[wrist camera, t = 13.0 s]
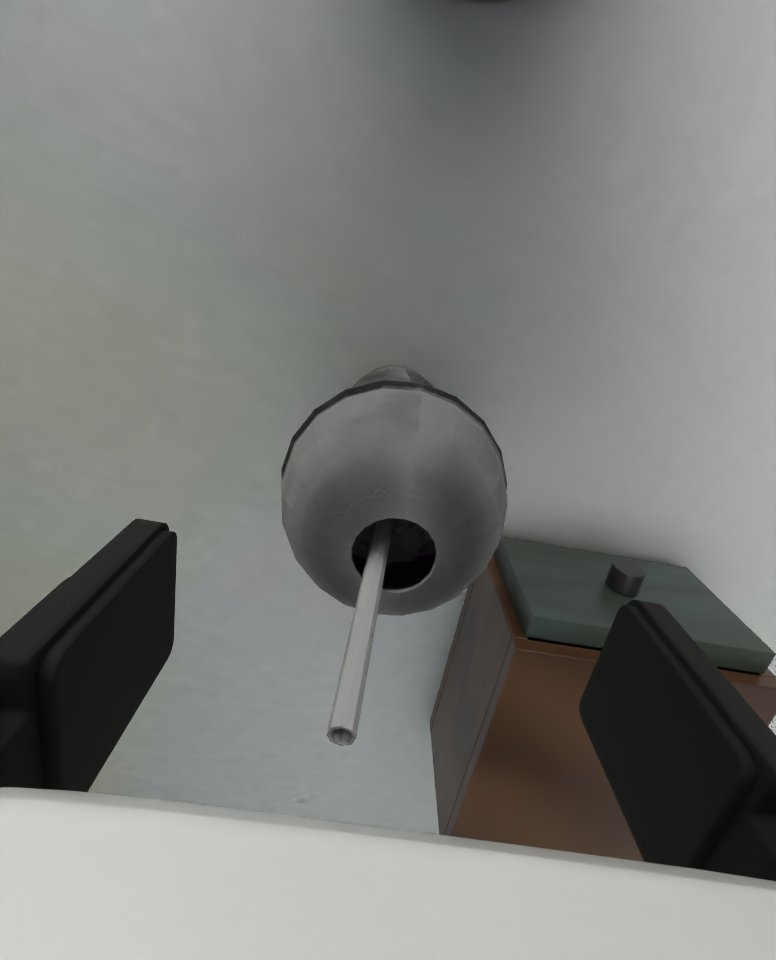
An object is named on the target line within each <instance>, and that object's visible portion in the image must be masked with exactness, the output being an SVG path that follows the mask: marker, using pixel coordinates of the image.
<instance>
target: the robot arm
mask: <svg viewBox="0 0 776 960" xmlns="http://www.w3.org/2000/svg"><path fill="white" fill-rule="evenodd" d="M176 553H177V535H176V533H175V532H172V531H169V528H168V525H167V524H166V523H161V522H155V521H149V520H143V519H135V520H134V521H132V522H131V523H130V524H129V525H128V526H127V527H126V528H124V529H123V530H122V531H121V532H120V533H119V534H118V535H117V536H116V537H114V538H113V539H112V540H111V541H110V542H109V543H108V544H107V545H106V546H104V547H103V548H102V549H101V550H100V551H99V552H98V553H97V554H96V555H94V556H93V557H92V558H91V559H90V560H89V561H88V562H87V563H86V564H84V565H83V566H82V567H81V568H80V569H79V570H78V571H77V572H76V573H74V574H73V575H72V576H71V577H69V578H67V579H66V580H64V581H63V582H62V583H61V584H59V585H58V586H57V587H56V588H55V589H54V590H53V591H52V592H50V593H49V594H48V595H47V596H46V597H45V598H44V599H43V600H42V601H40V602H39V603H38V604H37V605H36V606H35V607H34V608H33V609H31V610H30V611H29V612H28V613H27V614H26V615H25V616H24V617H22V618H21V619H20V620H19V621H18V622H17V623H16V624H15V625H13V626H12V627H11V628H10V629H9V630H8V631H7V632H6V633H5V634H3V635H2V636H1V637H0V960H776V735H775V734H774V733H773V732H772V731H771V729H770V728H769V727H768V726H767V725H766V724H765V722H764V721H763V720H762V719H761V718H760V717H759V715H758V714H757V713H756V712H755V711H754V710H753V709H752V707H751V706H750V705H749V704H748V703H747V702H746V700H745V699H744V698H743V697H742V696H741V695H740V693H739V692H738V691H737V690H736V689H735V688H734V686H733V685H732V684H731V683H730V682H729V681H728V680H727V678H726V677H725V676H724V675H723V674H722V673H721V671H720V670H719V669H718V668H717V667H716V666H715V664H714V663H713V662H712V661H711V660H710V659H709V657H708V656H707V655H706V654H705V653H704V652H703V650H702V649H701V648H700V647H699V646H698V645H697V644H696V642H695V641H694V640H693V639H692V638H691V637H690V635H689V634H688V633H687V632H686V631H685V630H684V628H683V627H682V626H681V625H680V624H679V623H678V621H677V620H676V619H675V618H674V617H673V616H672V615H671V613H670V612H669V611H668V610H667V609H666V608H665V607H664V606H663V605H662V604H658V603H652V602H646V601H640V600H631V601H630V602H629V603H627V605H623V606H621V607H620V608H619V610H618V612H617V614H616V616H615V619H614V621H613V624H612V626H611V628H610V631H609V633H608V636H607V638H606V640H605V643H604V645H603V647H602V650H601V652H600V655H599V657H598V659H597V662H596V664H595V666H594V669H593V671H592V674H591V676H590V678H589V681H588V683H587V686H586V688H585V690H584V693H583V695H582V697H581V700H580V705H579V712H580V717H581V720H582V722H583V725H584V727H585V729H586V731H587V734H588V736H589V738H590V740H591V743H592V745H593V747H594V750H595V752H596V754H597V756H598V759H599V761H600V763H601V765H602V768H603V770H604V772H605V774H606V777H607V779H608V781H609V783H610V786H611V788H612V790H613V793H614V795H615V797H616V799H617V802H618V804H619V806H620V808H621V811H622V813H623V815H624V817H625V820H626V822H627V824H628V826H629V829H630V831H631V833H632V836H633V838H634V840H635V842H636V845H637V847H638V849H639V851H640V854H641V856H642V858H643V860H644V862H641V861H634V860H626V859H619V858H612V857H604V856H597V855H590V854H582V853H575V852H568V851H560V850H553V849H546V848H538V847H531V846H523V845H515V844H508V843H500V842H492V841H485V840H477V839H470V838H462V837H454V836H447V835H439V834H431V833H423V832H416V831H408V830H400V829H392V828H385V827H377V826H369V825H361V824H354V823H346V822H337V821H329V820H321V819H313V818H305V817H297V816H289V815H281V814H273V813H265V812H257V811H249V810H240V809H232V808H224V807H216V806H208V805H200V804H192V803H184V802H174V801H165V800H155V799H146V798H136V797H127V796H117V795H108V794H99V793H89V792H88V790H89V788H90V787H91V785H92V783H93V782H94V780H95V778H96V777H97V775H98V773H99V772H100V770H101V768H102V767H103V765H104V764H105V762H106V760H107V759H108V757H109V755H110V754H111V752H112V750H113V749H114V747H115V745H116V744H117V742H118V740H119V739H120V737H121V735H122V734H123V732H124V730H125V729H126V727H127V725H128V724H129V722H130V720H131V719H132V717H133V715H134V714H135V712H136V711H137V709H138V707H139V706H140V704H141V702H142V701H143V699H144V697H145V696H146V694H147V692H148V691H149V689H150V687H151V686H152V684H153V682H154V681H155V679H156V677H157V676H158V674H159V672H160V671H161V669H162V667H163V666H164V664H165V662H166V661H167V659H168V657H169V655H170V653H171V650H172V646H173V641H174V615H175V584H176Z"/></svg>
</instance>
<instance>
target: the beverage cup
mask: <svg viewBox="0 0 776 960" xmlns="http://www.w3.org/2000/svg"><path fill="white" fill-rule="evenodd" d="M506 489H507V481H506V475H505V470H504V464H503V458H502V453H501V450H500V448H499V446H498V444H497V443H496V441H495V439H494V437H493V436H492V434H491V432H490V431H489V429H488V427H487V425H486V424H485V422H484V420H482V419H481V418H480V417H479V416H478V415H477V414H476V413H474V412H473V411H472V410H471V409H470V408H469V407H467V406H466V405H465V404H464V403H463V402H462V401H460V400H459V399H458V398H457V397H455V396H453V395H450V394H448V393H445V392H443V391H440V390H438V389H435V388H434V387H433V386H432V385H431V384H430V383H429V382H428V381H426V380H425V379H424V378H423V377H422V376H421V375H419V374H418V373H416V372H414V371H412V370H409V369H407V368H404V367H397V366H387V367H383V368H379V369H376V370H374V371H372V372H371V373H369V374H368V375H366V376H364V377H363V378H361V379H360V380H359V381H358V382H357V383H356V384H355V385H354V386H353V387H352V388H350V389H346V390H344V391H343V392H341V393H339V394H338V395H336V396H335V397H333V398H332V399H330V400H329V401H327V402H325V403H324V404H322V405H321V406H319V407H318V408H316V409H314V411H313V412H312V413H311V415H310V416H309V417H308V418H307V420H306V421H305V422H304V423H303V425H302V426H301V427H300V428H299V430H298V431H297V432H296V433H295V435H294V436H293V437H292V440H291V443H290V446H289V449H288V452H287V455H286V458H285V461H284V464H283V467H282V523H283V526H284V529H285V531H286V534H287V537H288V540H289V542H290V545H291V548H292V550H293V553H294V555H295V558H296V560H297V561H298V562H299V564H300V565H301V566H302V567H303V569H304V570H305V571H306V572H307V574H308V575H309V576H310V577H311V579H312V580H313V581H314V582H315V584H316V585H317V586H318V587H319V588H321V589H322V590H324V591H325V592H327V593H328V594H330V595H331V596H332V597H334V598H335V599H337V600H338V601H340V602H341V603H343V604H344V605H347V606H350V607H353V608H355V612H354V616H353V620H352V625H351V629H350V633H349V638H348V642H347V647H346V651H345V655H344V660H343V664H342V668H341V673H340V677H339V682H338V686H337V690H336V695H335V699H334V703H333V708H332V712H331V717H330V721H329V725H328V730H327V736H328V738H329V740H330V741H331V742H333V743H335V744H338V745H340V746H344V745H351V744H352V743H353V742H354V740H355V739H356V736H357V730H358V724H359V718H360V712H361V707H362V701H363V695H364V689H365V683H366V678H367V672H368V666H369V660H370V654H371V648H372V643H373V637H374V631H375V625H376V619H377V614H384V615H401V616H402V615H407V614H412V613H417V612H422V611H427V610H431V609H433V608H435V607H437V606H439V605H441V604H443V603H445V602H447V601H449V600H451V599H453V598H455V597H457V596H458V595H459V594H460V593H462V592H463V591H464V590H465V589H466V588H467V587H468V586H469V585H470V584H471V583H472V582H473V581H474V580H475V579H476V578H477V577H478V576H479V575H480V574H481V573H482V572H483V571H484V570H485V568H486V566H487V564H488V563H489V561H490V559H491V557H492V555H493V554H494V552H495V550H496V548H497V546H498V544H499V542H500V540H501V537H502V532H503V526H504V520H505V514H506V508H507V493H506Z"/></svg>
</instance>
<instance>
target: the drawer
mask: <svg viewBox="0 0 776 960" xmlns="http://www.w3.org/2000/svg"><path fill="white" fill-rule="evenodd" d="M494 556H495V558H496V561H497V564H498V566H499V569H500V572H501V574H502V577H503V580H504V582H505V585H506V588H507V590H508V593H509V596H510V598H511V601H512V604H513V606H514V609H515V612H516V614H517V617H518V620H519V622H520V625H521V628H522V630H523V633H524V636H525V637H528V640H534V641H540V642H546V643H553V644H559V645H566V646H572V647H578V648H585V649H591V650H598V651H601V650H602V647H603V645H604V643H605V640H606V638H607V636H608V633H609V631H610V628H611V626H612V624H613V621H614V619H615V616H616V614H617V612H618V610H619V608H620V607H621V606H623V605H627V603H629V602H630V601H631V600H640V601H646V602H652V603H658V604H662V605H663V606H664V607H665V608H666V609H667V610H668V611H669V612H670V613H671V615H672V616H673V617H674V618H675V619H676V620H677V621H678V623H679V624H680V625H681V626H682V627H683V628H684V630H685V631H686V632H687V633H688V634H689V635H690V637H691V638H692V639H693V640H694V641H695V642H696V644H697V645H698V646H699V647H700V648H701V649H702V650H703V652H704V653H705V654H706V655H707V656H708V657H709V659H710V660H711V661H712V662H713V663H714V664H715V666H717V667H723V668H729V669H736V670H742V671H749V672H755V673H761V674H764V673H765V671H766V670H767V668H768V666H769V664H770V663H771V661H772V659H773V658H774V656H775V653H774V652H773V651H772V650H771V649H770V648H769V647H768V646H767V645H766V644H765V643H764V642H763V641H762V640H761V639H760V638H759V637H758V636H757V635H756V634H755V633H754V632H753V631H752V630H751V629H750V628H748V627H747V626H746V625H745V624H744V623H743V622H742V621H741V620H740V619H739V618H738V617H737V616H736V615H735V614H734V613H733V612H732V611H731V610H730V609H729V608H728V607H727V606H726V605H725V604H724V603H723V602H722V601H721V600H720V599H719V598H717V597H716V596H715V595H714V594H713V593H712V592H711V591H710V590H709V589H708V588H707V587H706V586H705V585H704V584H703V583H702V582H701V581H700V580H699V579H698V578H697V577H696V576H695V575H694V574H693V573H692V572H691V571H690V570H689V569H688V568H686V567H680V566H674V565H668V564H662V563H656V562H650V561H644V560H638V559H632V558H626V557H620V556H614V555H608V554H603V553H597V552H591V551H585V550H579V549H573V548H567V547H561V546H555V545H549V544H543V543H537V542H531V541H525V540H519V539H513V538H507V537H501V540H500V542H499V544H498V546H497V548H496V550H495V552H494Z"/></svg>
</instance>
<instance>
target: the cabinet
mask: <svg viewBox="0 0 776 960" xmlns="http://www.w3.org/2000/svg"><path fill="white" fill-rule="evenodd" d="M600 652H601V651H598V650H591V649H585V648H578V647H572V646H566V645H559V644H553V643H546V642H540V641H534V640H528V637H525V636H524V633H523V630H522V628H521V625H520V622H519V620H518V617H517V614H516V612H515V609H514V606H513V604H512V601H511V598H510V596H509V593H508V590H507V588H506V585H505V582H504V580H503V577H502V574H501V572H500V569H499V566H498V564H497V561H496V558H495V556H494V554H493V555H492V557H491V559H490V561H489V563H488V564H487V566H486V568H485V570H484V571H483V572H482V573H481V574H480V575H479V576H478V577H477V578H476V579H475V580H474V581H473V582H472V583H471V584H470V585H469V588H468V592H467V595H466V599H465V602H464V606H463V609H462V613H461V616H460V620H459V623H458V626H457V630H456V633H455V637H454V640H453V644H452V647H451V651H450V654H449V658H448V661H447V665H446V668H445V672H444V675H443V679H442V682H441V686H440V689H439V692H438V696H437V699H436V703H435V706H434V710H433V713H432V717H431V720H430V731H431V742H432V754H433V765H434V777H435V789H436V800H437V812H438V823H439V835H447V836H454V837H462V838H470V839H477V840H485V841H492V842H500V843H508V844H515V845H523V846H531V847H538V848H546V849H553V850H560V851H568V852H575V853H582V854H590V855H597V856H604V857H612V858H619V859H626V860H634V861H641V862H644V860H643V858H642V856H641V854H640V851H639V849H638V847H637V845H636V842H635V840H634V838H633V836H632V833H631V831H630V829H629V826H628V824H627V822H626V820H625V817H624V815H623V813H622V811H621V808H620V806H619V804H618V802H617V799H616V797H615V795H614V793H613V790H612V788H611V786H610V783H609V781H608V779H607V777H606V774H605V772H604V770H603V768H602V765H601V763H600V761H599V759H598V756H597V754H596V752H595V750H594V747H593V745H592V743H591V740H590V738H589V736H588V734H587V731H586V729H585V727H584V725H583V722H582V720H581V717H580V712H579V705H580V700H581V697H582V695H583V693H584V690H585V688H586V686H587V683H588V681H589V678H590V676H591V674H592V671H593V669H594V666H595V664H596V662H597V659H598V657H599V655H600ZM716 667H717V666H716ZM717 668H718V669H719V670H720V671H721V673H722V674H723V675H724V676H725V677H726V678H727V680H728V681H729V682H730V683H731V684H732V685H733V686H734V688H735V689H736V690H737V691H738V692H739V693H740V695H741V696H742V697H743V698H744V699H745V700H746V702H747V703H748V704H749V705H750V706H751V707H752V709H753V710H754V711H755V712H756V713H757V714H758V715H759V717H760V718H761V719H762V720H763V721H764V722H765V724H766V725H767V726H769V724H770V722H771V721H772V719H773V718H774V716H775V715H776V676H775V675H774V674H773V673H772V672H771V671H770V670H769V669H768V668H767V670H766V671H765V673H764V674H761V673H755V672H749V671H742V670H736V669H729V668H723V667H717Z"/></svg>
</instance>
